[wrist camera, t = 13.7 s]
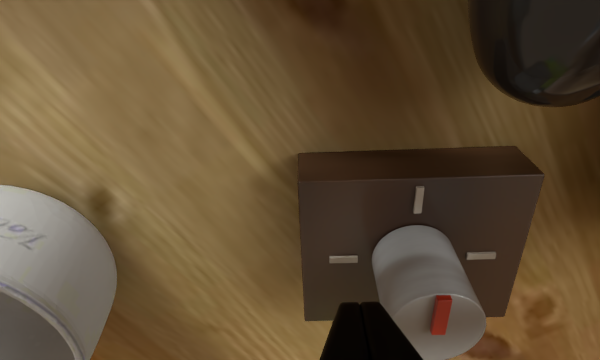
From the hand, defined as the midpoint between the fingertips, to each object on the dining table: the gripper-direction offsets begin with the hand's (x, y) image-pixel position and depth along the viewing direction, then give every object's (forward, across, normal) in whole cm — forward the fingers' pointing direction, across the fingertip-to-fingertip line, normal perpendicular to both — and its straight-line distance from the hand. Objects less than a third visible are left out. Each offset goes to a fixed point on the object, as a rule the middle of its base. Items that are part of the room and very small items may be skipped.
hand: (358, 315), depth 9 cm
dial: (+10, -4, +7) cm, 13 cm away
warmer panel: (+13, -4, +7) cm, 15 cm away
